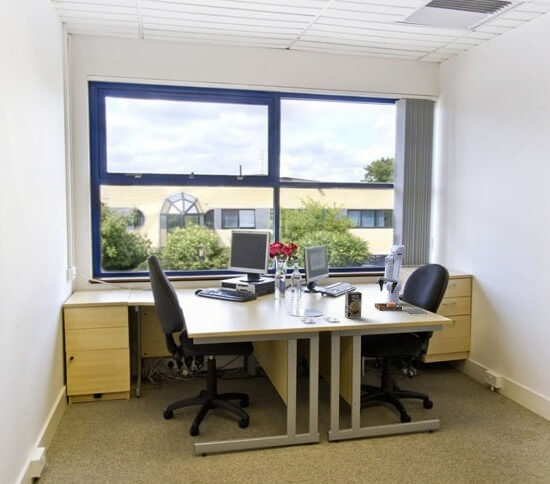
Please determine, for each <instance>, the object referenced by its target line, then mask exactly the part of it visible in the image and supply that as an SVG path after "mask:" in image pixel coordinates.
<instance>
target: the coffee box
mask: <svg viewBox="0 0 550 484" xmlns="http://www.w3.org/2000/svg"><path fill="white" fill-rule="evenodd" d="M344 293H345V298H344V317H345V318H346V319H348V320H349V319H362V305H363V304H362V301H363V300H362V299H363V296H362V295H363V293H362V292H360V291H345V292H344Z"/></svg>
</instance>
